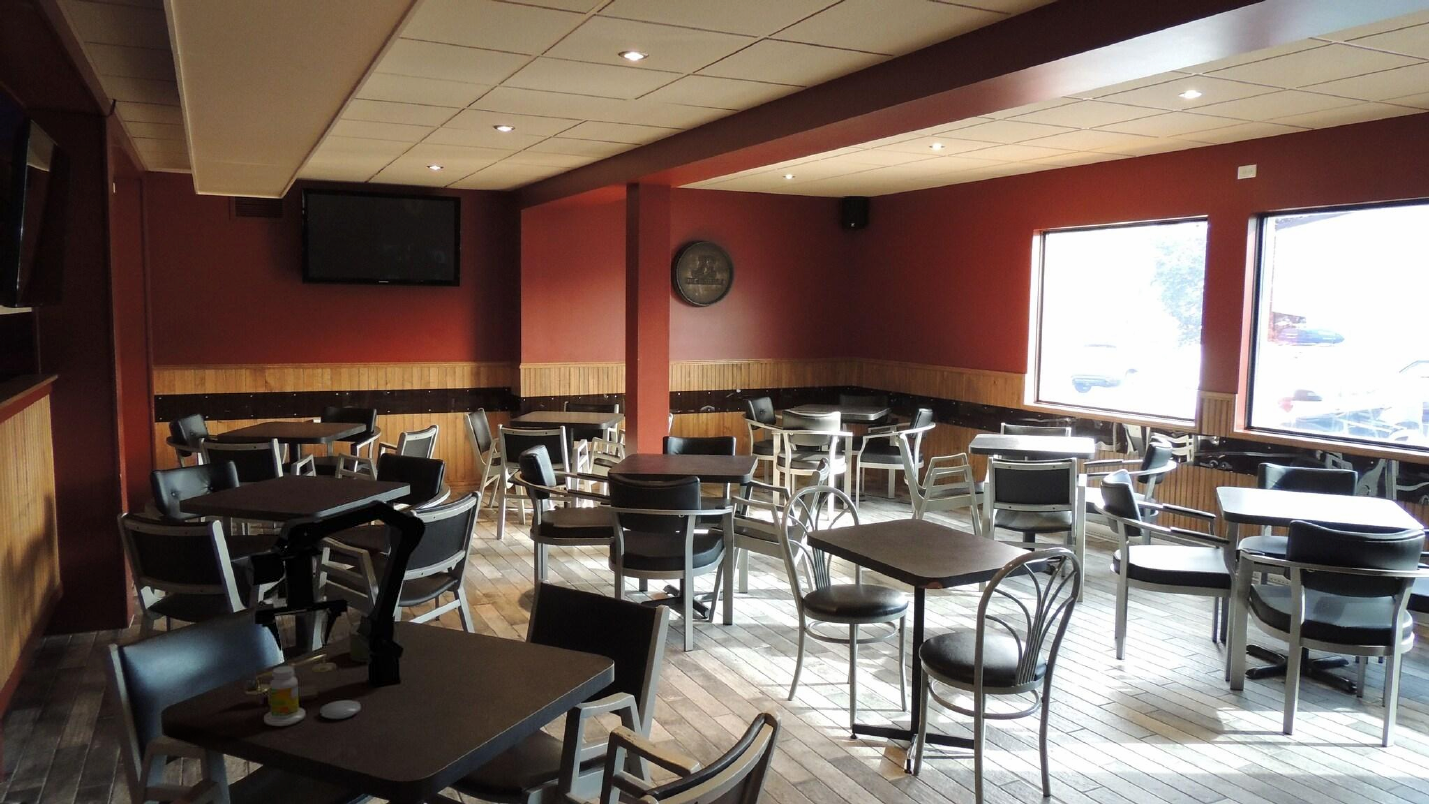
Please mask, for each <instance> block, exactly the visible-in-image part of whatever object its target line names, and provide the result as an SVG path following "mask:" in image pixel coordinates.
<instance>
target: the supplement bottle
mask: <svg viewBox="0 0 1429 804" xmlns="http://www.w3.org/2000/svg"><path fill="white" fill-rule="evenodd" d="M272 671H273V675H272V677H273V679H272V680H271V681H270V683H269V685H270V691H269V692H270V703H271V705H270V711H271V716H272V717H273V718H277V719H283V718H289V717H292V716H294V715H296V714H297V713H298V711H299V708H300V707H299V706H300V705H299V701H298V687H299V684H298V683H299V682H298V679H297V677H296V676H295V677H293V675H294V669H293V667H291V666H288V665H285V666H283V665H282V666H279V667H275V668H274V669H273V670H272Z"/></svg>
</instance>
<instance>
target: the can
mask: <svg viewBox="0 0 1429 804" xmlns="http://www.w3.org/2000/svg"><path fill="white" fill-rule="evenodd" d="M359 625H360V622H359V623H357V624H355V625H352V626H351V627H349V629H348V634H349V635H348V636H349V651H350V652H349V653H350V655H349V656H350V659H351V660H352V661H355V662H359V663H367V662H368V661H370V654H371V653H370V652H368V651H367V649H366V648H365V647H364V646H362V645H361V644H360V642H359V640H358V633H357V632H356V631H357V629H358V628H359ZM399 635H400V624H399V623H397V622H396V621H394V636H393V641H394V642H396V643H397V644H398V645H400V636H399Z"/></svg>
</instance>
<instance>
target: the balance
mask: <svg viewBox="0 0 1429 804" xmlns="http://www.w3.org/2000/svg"><path fill="white" fill-rule="evenodd" d="M326 657H327V654H326V653H324V654H323V653H322V654H320V655H317V656H313V657H310V658H307V659H305V660H302V661H299V662H296V663H294V662H290V663H288V665H287V666H291V667H293V669H294V675H293V677H295V678H296V668H299V667H302V666H305V665H308V664H310V663H314V662H316V661H320V660H322V659H323V660H322V661H323V662H321V663H318V664H315V665H313V666H312V672H314V673H321V674H322V673H329V672H332V671H334V670H336V669H337V664H336V663H335V662H326ZM272 676H273V670H271V671H268V672H265V673H262V674H258V675H256V676H255V679H248V680H246V681H245V682H244V683H245V685H244V686H245V694H246V695H249V696H257V695H262V694H266V693H267V705H270V706H271V703H270V684H265V683H263V684H262V683H261V684H260V680H262V679H265V678H268V677H272ZM314 698H317V699H318V689H317V687H316V684H313V685H306V686H298V702H301V701H303V700H304V701H308V700H309V699H310V700H315V699H314Z"/></svg>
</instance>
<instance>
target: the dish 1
mask: <svg viewBox="0 0 1429 804" xmlns="http://www.w3.org/2000/svg"><path fill="white" fill-rule="evenodd" d="M305 717H306V710H305V709H304V708H302V707H299V711H298V713H297V714H296V715H294V716H292V717H289V718H283V719H277V718H273V717H272V716H271V710H270V711H268V712H267V713H266V714H264V716H263V722H264V723H265V724H266V725H269V726H273V727H285V726H290V725H293V724H296V723H297V722H300V721H302V720H303V719H304V718H305Z"/></svg>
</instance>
